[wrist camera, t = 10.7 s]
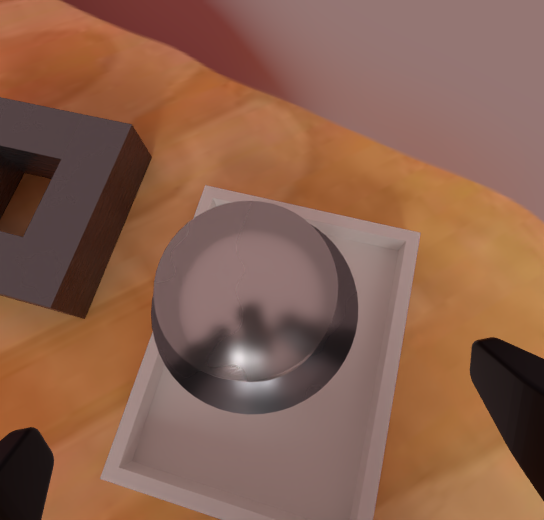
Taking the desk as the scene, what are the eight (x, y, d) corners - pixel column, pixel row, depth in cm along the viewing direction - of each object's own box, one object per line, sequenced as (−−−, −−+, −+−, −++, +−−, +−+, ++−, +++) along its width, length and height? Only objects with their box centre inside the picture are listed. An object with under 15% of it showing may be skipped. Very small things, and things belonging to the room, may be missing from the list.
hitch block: (84, 318, 20) (50, 307, 17) (-79, 273, 21) (-136, 256, 18) (151, 157, 23) (131, 124, 20) (4, 125, 24) (-34, 90, 21)
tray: (356, 546, 16) (365, 567, 14) (120, 468, 18) (99, 478, 16) (408, 247, 20) (420, 232, 19) (212, 202, 22) (205, 184, 20)
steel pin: (290, 418, 18) (286, 483, 6) (211, 365, 18) (67, 325, 7) (337, 335, 19) (418, 243, 7) (261, 289, 20) (213, 136, 8)
